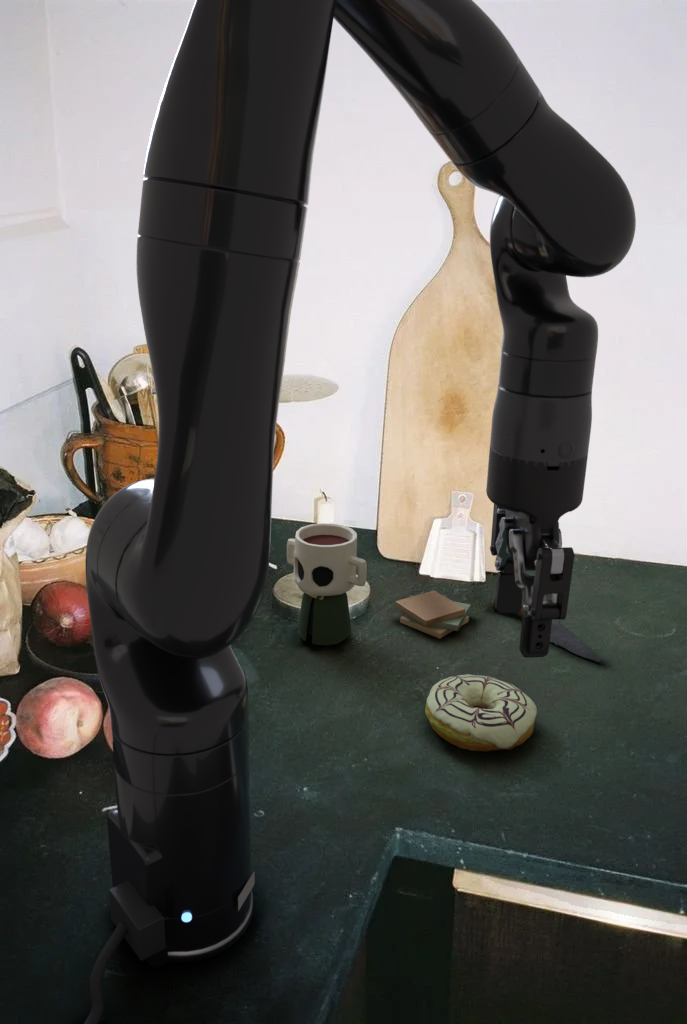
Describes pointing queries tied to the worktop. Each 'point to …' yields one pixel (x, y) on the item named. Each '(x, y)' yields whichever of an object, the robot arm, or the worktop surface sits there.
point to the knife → (566, 639)
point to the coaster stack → (433, 613)
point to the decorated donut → (480, 713)
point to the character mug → (325, 579)
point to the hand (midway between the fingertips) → (520, 632)
